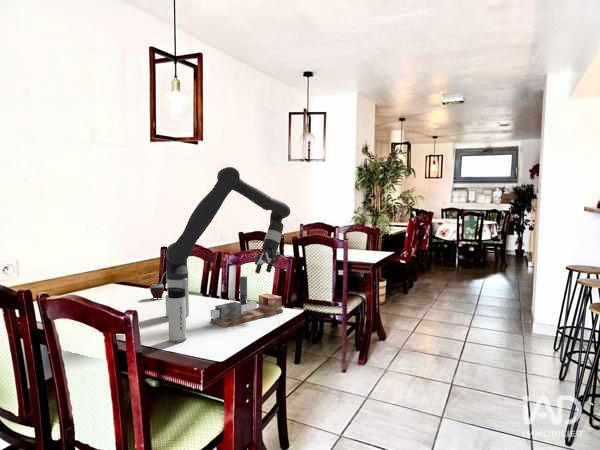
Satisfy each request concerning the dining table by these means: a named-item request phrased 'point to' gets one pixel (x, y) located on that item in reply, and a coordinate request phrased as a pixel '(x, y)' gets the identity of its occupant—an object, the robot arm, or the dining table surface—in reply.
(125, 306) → the dining table surface
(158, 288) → the mate gourd
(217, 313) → the grey stepped block
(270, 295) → the tube rig
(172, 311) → the travel mug
